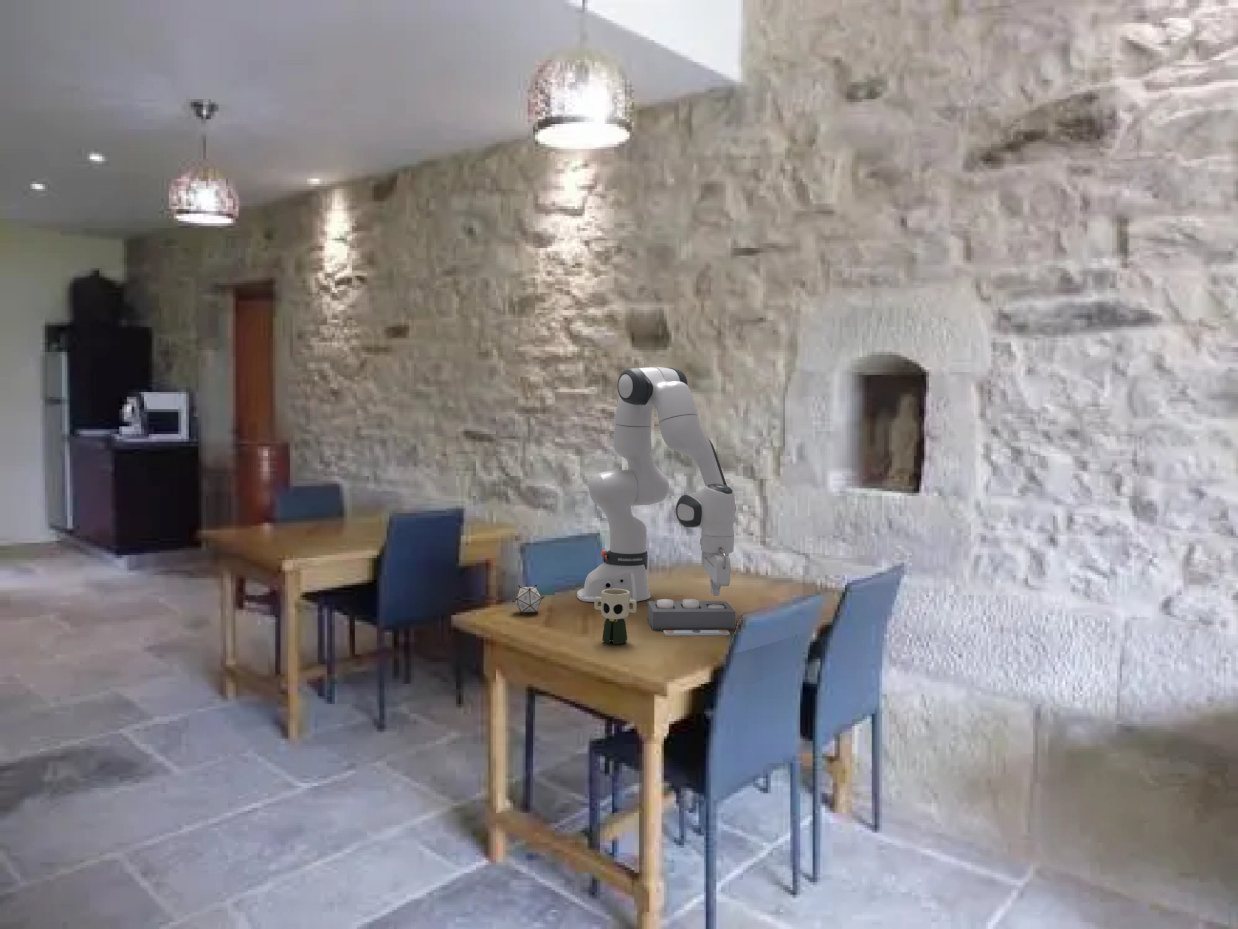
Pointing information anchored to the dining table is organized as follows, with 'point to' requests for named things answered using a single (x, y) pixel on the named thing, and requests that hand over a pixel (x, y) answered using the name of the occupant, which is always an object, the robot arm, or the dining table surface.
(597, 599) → the character mug
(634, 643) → the dining table surface
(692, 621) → the button box
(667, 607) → the left button
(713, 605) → the right button
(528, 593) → the white spiked icosahedron
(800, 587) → the dining table surface
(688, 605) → the middle button
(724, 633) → the pattern card
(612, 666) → the dining table surface
